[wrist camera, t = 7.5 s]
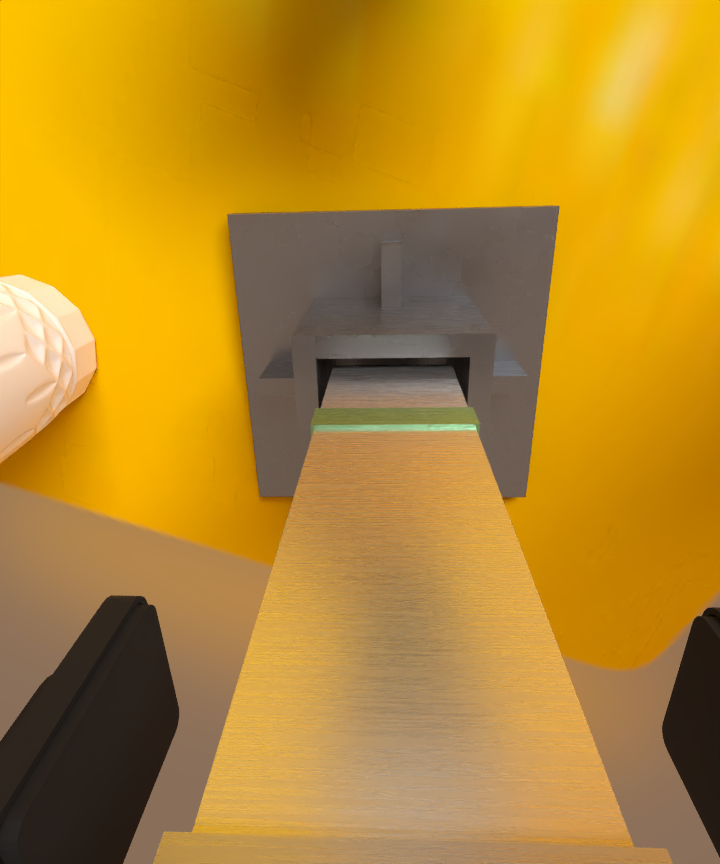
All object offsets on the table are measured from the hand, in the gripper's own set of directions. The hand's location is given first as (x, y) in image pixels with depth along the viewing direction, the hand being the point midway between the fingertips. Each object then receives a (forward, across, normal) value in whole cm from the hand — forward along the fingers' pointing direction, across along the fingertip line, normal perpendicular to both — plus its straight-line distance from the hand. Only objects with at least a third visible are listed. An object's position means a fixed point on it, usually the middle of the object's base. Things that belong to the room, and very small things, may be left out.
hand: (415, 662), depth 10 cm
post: (+11, 0, 0) cm, 11 cm away
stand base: (+19, 0, 0) cm, 19 cm away
